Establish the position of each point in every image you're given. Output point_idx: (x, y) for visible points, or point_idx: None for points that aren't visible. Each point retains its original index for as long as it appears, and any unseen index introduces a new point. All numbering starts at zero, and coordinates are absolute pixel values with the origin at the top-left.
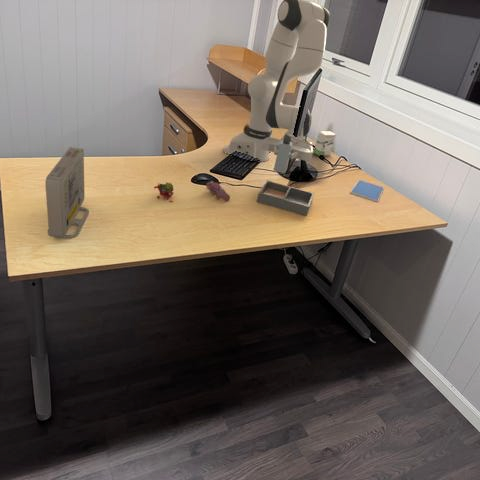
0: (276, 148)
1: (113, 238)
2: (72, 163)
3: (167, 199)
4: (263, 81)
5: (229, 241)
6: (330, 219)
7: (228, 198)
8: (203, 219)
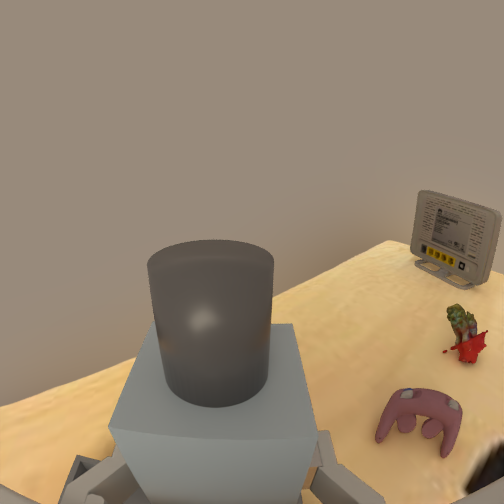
0: (335, 477)
1: (393, 273)
2: (456, 201)
3: (451, 347)
4: None
5: (272, 314)
6: (17, 469)
7: (377, 430)
8: (354, 342)
